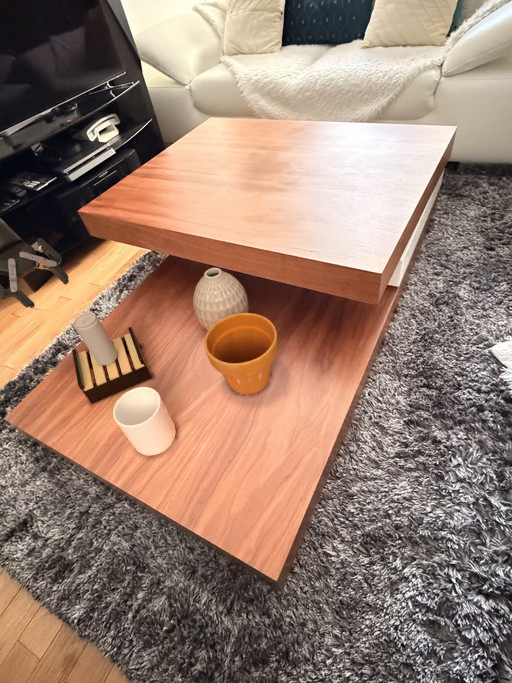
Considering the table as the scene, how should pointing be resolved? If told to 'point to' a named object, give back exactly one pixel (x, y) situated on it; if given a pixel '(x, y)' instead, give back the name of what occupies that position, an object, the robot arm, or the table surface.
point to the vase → (218, 297)
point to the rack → (111, 369)
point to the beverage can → (95, 338)
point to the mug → (145, 420)
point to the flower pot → (243, 350)
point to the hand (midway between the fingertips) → (50, 294)
